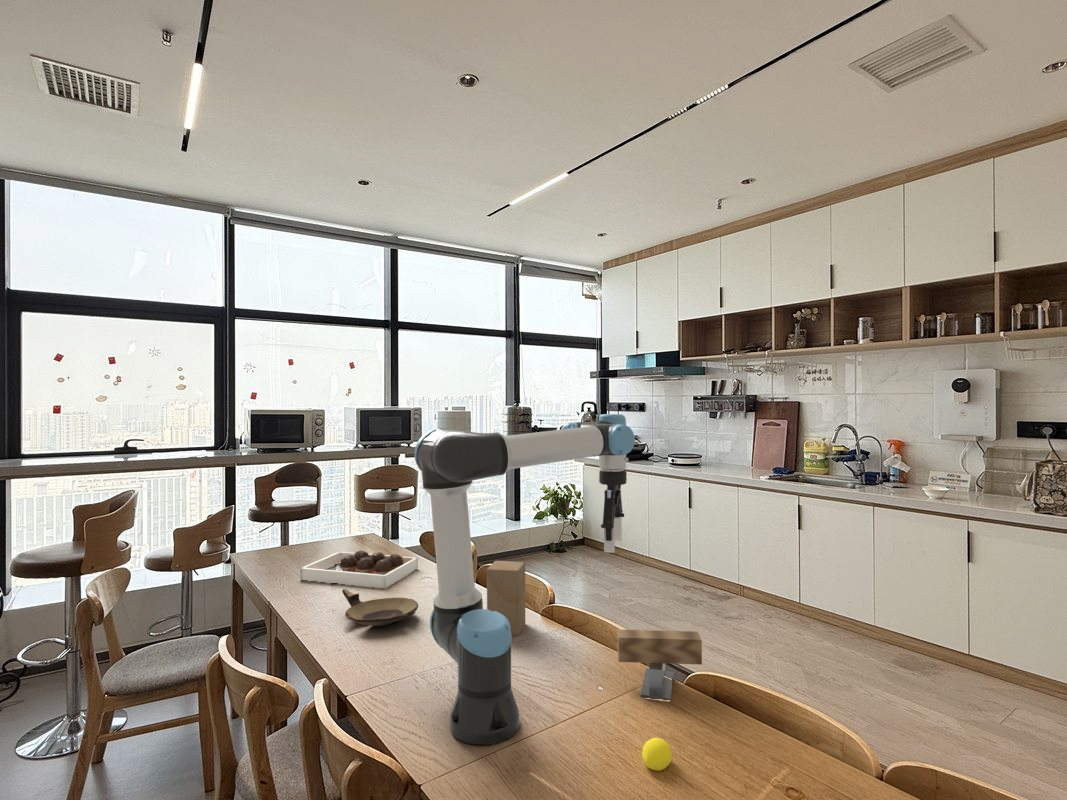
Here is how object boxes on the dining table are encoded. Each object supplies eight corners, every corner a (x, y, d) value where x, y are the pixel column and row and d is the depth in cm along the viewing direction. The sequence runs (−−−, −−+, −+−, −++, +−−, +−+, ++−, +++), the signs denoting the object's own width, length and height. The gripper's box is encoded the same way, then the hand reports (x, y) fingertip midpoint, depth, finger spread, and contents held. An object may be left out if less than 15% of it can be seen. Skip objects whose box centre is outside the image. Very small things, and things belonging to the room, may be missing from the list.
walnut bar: (697, 655, 146) (697, 631, 146) (701, 664, 141) (701, 639, 141) (617, 653, 148) (617, 629, 148) (618, 661, 143) (618, 637, 143)
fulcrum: (670, 702, 137) (670, 673, 137) (640, 698, 139) (640, 669, 139) (673, 675, 150) (673, 648, 150) (646, 672, 152) (645, 645, 152)
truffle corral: (385, 589, 221) (385, 575, 221) (300, 580, 231) (300, 568, 231) (417, 569, 245) (417, 557, 245) (339, 562, 256) (339, 551, 256)
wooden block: (518, 637, 175) (518, 570, 175) (486, 634, 177) (486, 569, 177) (525, 624, 185) (525, 561, 185) (495, 622, 187) (495, 560, 187)
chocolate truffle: (330, 577, 237) (330, 556, 237) (357, 566, 253) (356, 547, 253) (388, 585, 227) (388, 563, 227) (412, 573, 242) (412, 552, 242)
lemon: (658, 782, 109) (658, 753, 109) (635, 769, 113) (635, 741, 113) (679, 765, 114) (679, 738, 114) (655, 753, 117) (655, 727, 117)
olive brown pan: (363, 643, 172) (363, 617, 172) (329, 614, 196) (329, 591, 196) (431, 625, 185) (431, 601, 185) (392, 599, 209) (392, 578, 209)
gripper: (620, 475, 149) (620, 558, 149) (631, 464, 173) (632, 536, 173) (591, 474, 151) (591, 556, 151) (606, 464, 175) (607, 534, 175)
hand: (613, 546), depth 162 cm, fingers open, 13 cm apart
